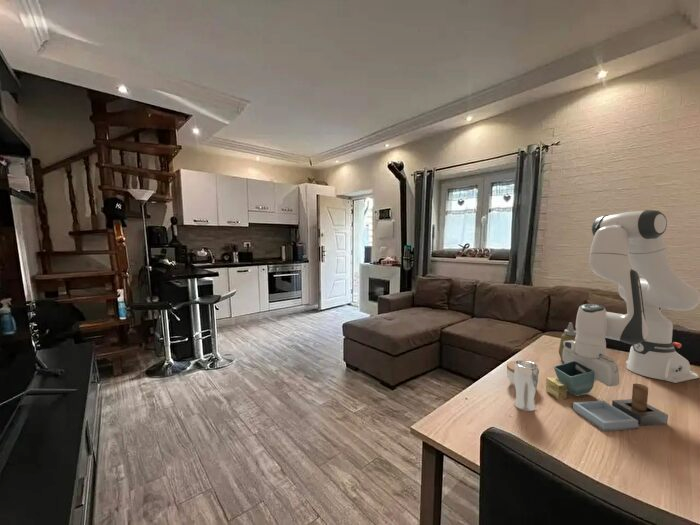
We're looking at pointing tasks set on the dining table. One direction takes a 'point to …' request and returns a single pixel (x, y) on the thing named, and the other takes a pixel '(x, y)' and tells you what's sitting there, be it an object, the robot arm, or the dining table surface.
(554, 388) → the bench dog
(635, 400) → the dowel
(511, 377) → the lidded jar
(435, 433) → the dining table surface
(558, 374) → the flower pot
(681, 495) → the dining table surface
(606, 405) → the tray
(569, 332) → the squeeze bottle
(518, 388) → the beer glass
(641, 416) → the socket block
